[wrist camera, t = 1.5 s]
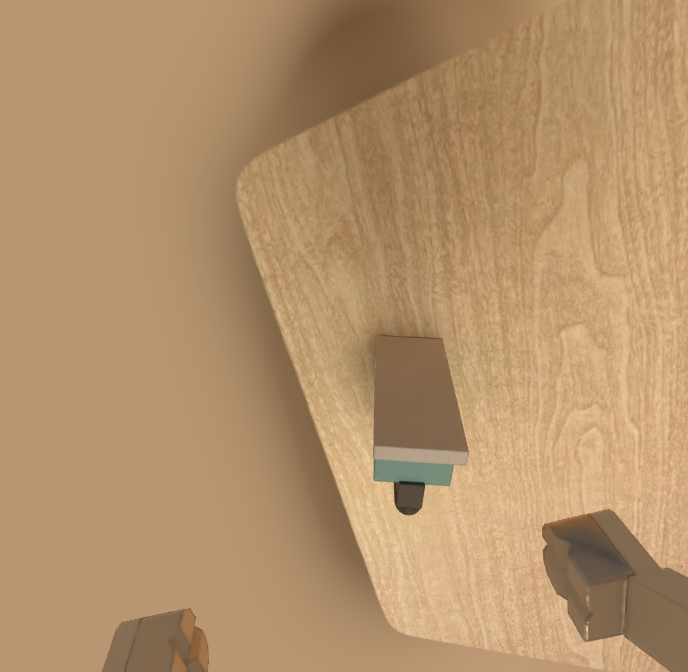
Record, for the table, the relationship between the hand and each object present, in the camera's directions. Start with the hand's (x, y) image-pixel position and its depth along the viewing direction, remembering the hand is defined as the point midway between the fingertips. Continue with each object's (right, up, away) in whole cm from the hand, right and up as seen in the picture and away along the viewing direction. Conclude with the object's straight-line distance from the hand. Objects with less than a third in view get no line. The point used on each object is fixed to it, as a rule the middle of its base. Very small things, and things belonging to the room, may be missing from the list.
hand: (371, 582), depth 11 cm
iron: (+4, +3, +28) cm, 29 cm away
